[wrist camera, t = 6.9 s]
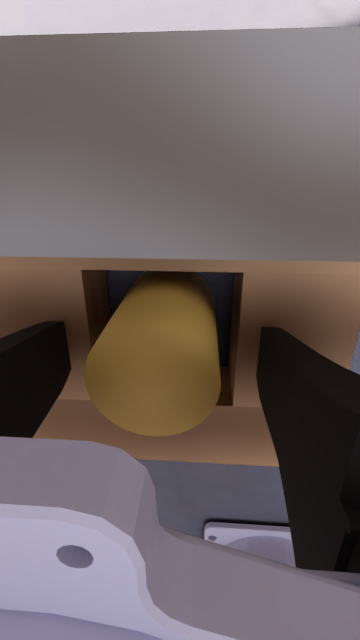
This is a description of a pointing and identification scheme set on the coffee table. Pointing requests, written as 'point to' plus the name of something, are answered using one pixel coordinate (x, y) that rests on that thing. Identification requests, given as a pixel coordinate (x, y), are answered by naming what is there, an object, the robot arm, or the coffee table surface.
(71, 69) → the porch socket
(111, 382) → the peg
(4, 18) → the coffee table surface
